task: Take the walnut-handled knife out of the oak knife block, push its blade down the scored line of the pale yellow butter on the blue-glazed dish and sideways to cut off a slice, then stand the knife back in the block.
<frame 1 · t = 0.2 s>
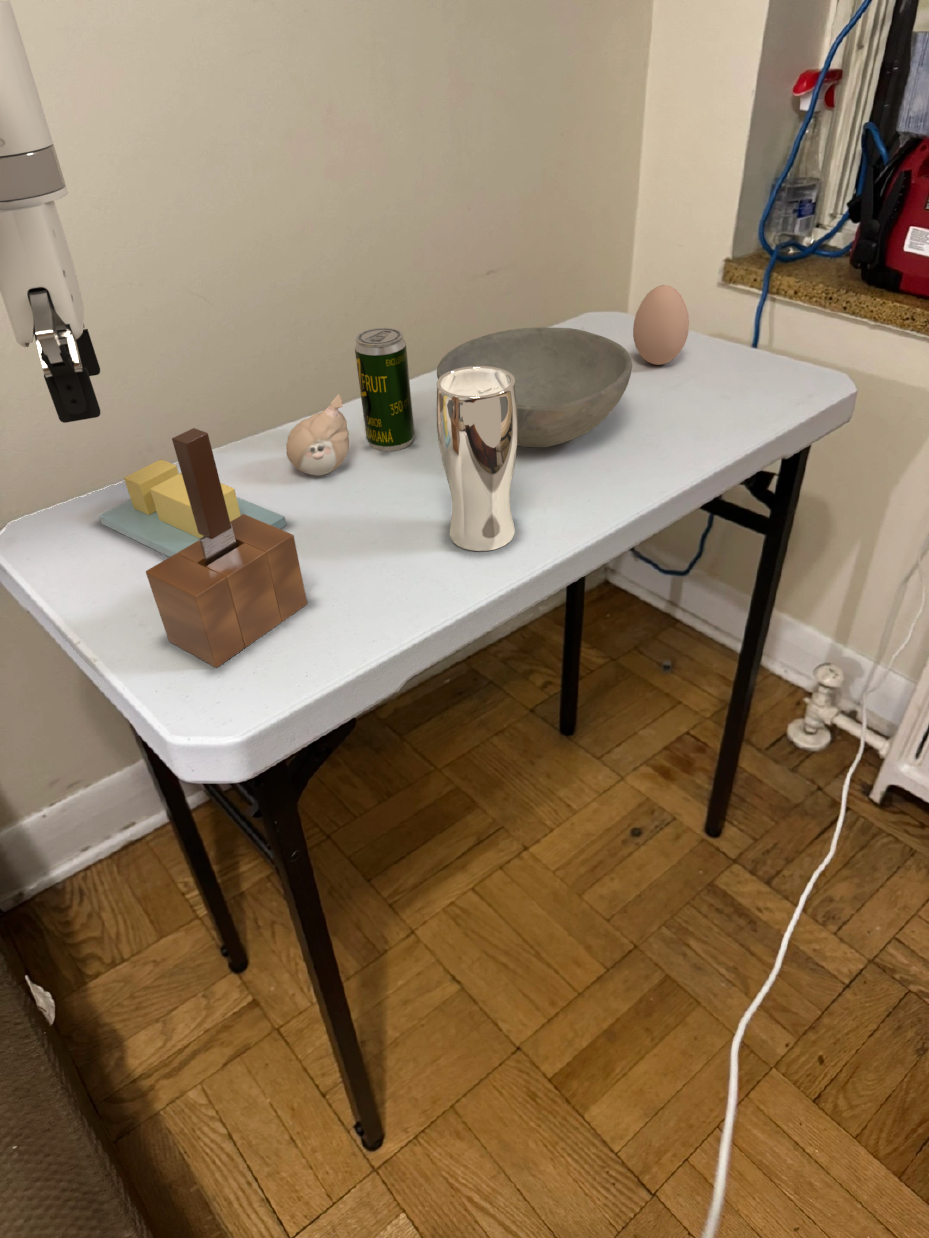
hand: (82, 396, 75), 15 cm above the table, tool pointing down, fingers open, 9 cm apart
butter: (200, 520, 84), point 1 cm above the table, touching butter dish
butter slice: (159, 502, 87), point 1 cm above the table, touching butter dish
garlic bulb: (322, 471, 93), on the table
knife block: (239, 622, 72), on the table
bowl: (534, 430, 98), on the table
knife: (216, 536, 67), in the knife block
butter dish: (193, 524, 85), on the table
beer glass: (482, 535, 81), on the table
egg: (657, 365, 111), on the table
green soda can: (391, 443, 97), on the table
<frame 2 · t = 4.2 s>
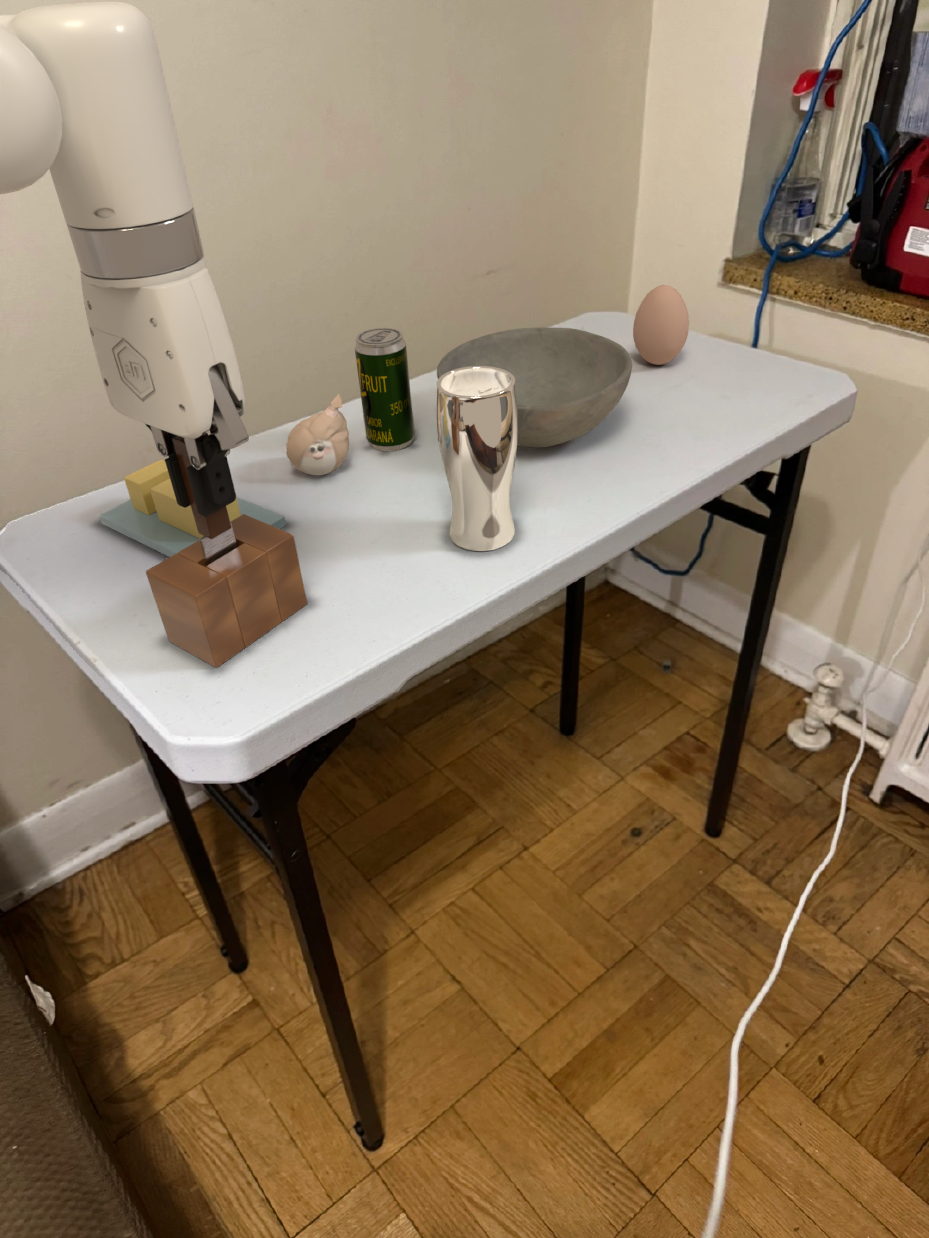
hand: (207, 502, 65), 12 cm above the table, tool pointing down, fingers closed on knife, 1 cm apart
knife: (216, 536, 67), in the knife block, touching gripper
everything else where it was.
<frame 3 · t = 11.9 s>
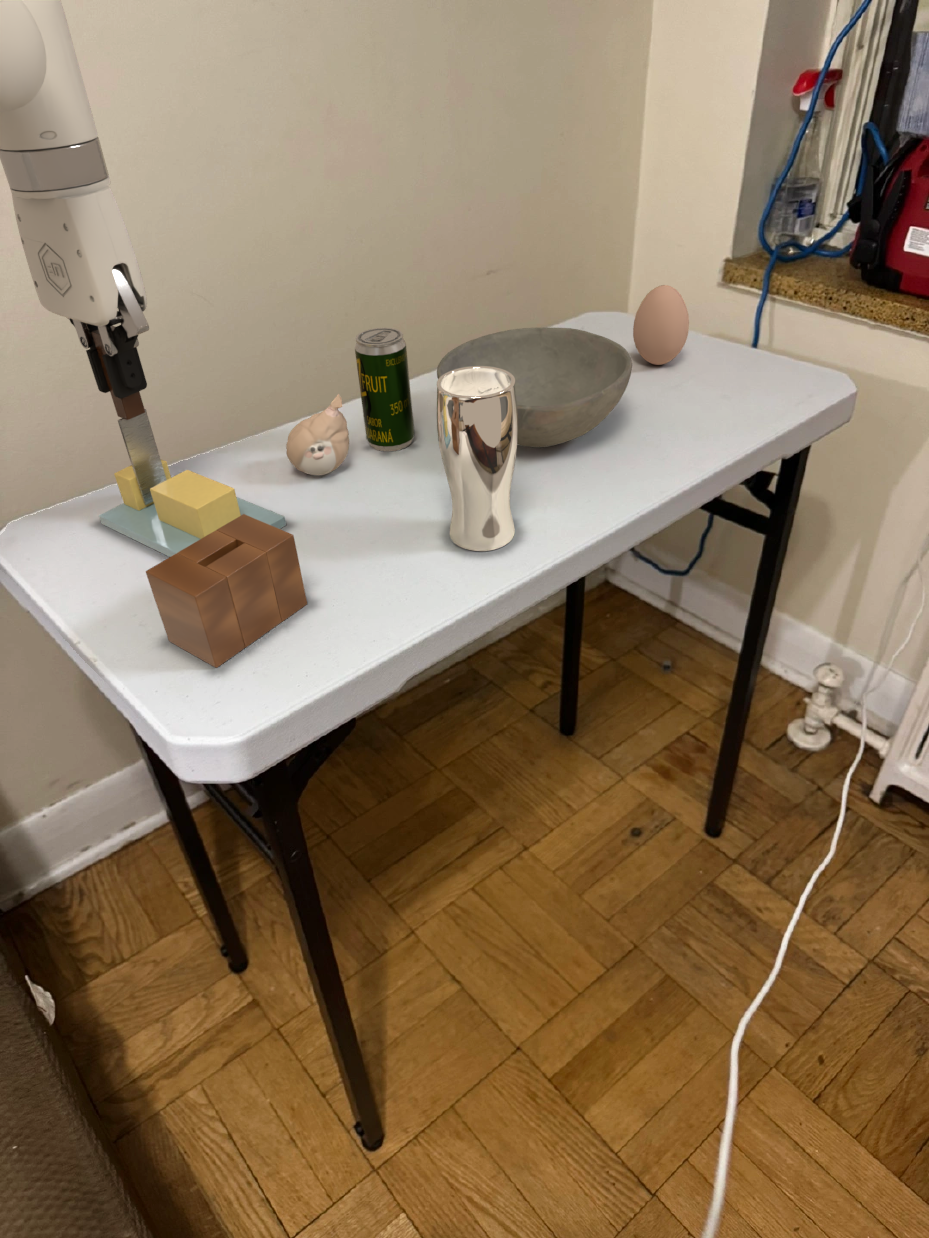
hand: (123, 389, 79), 13 cm above the table, tool pointing down, fingers closed on knife, 1 cm apart
butter slice: (150, 498, 88), point 1 cm above the table, touching butter dish
knife: (133, 419, 81), point 10 cm above the table, touching gripper
everything else where it was.
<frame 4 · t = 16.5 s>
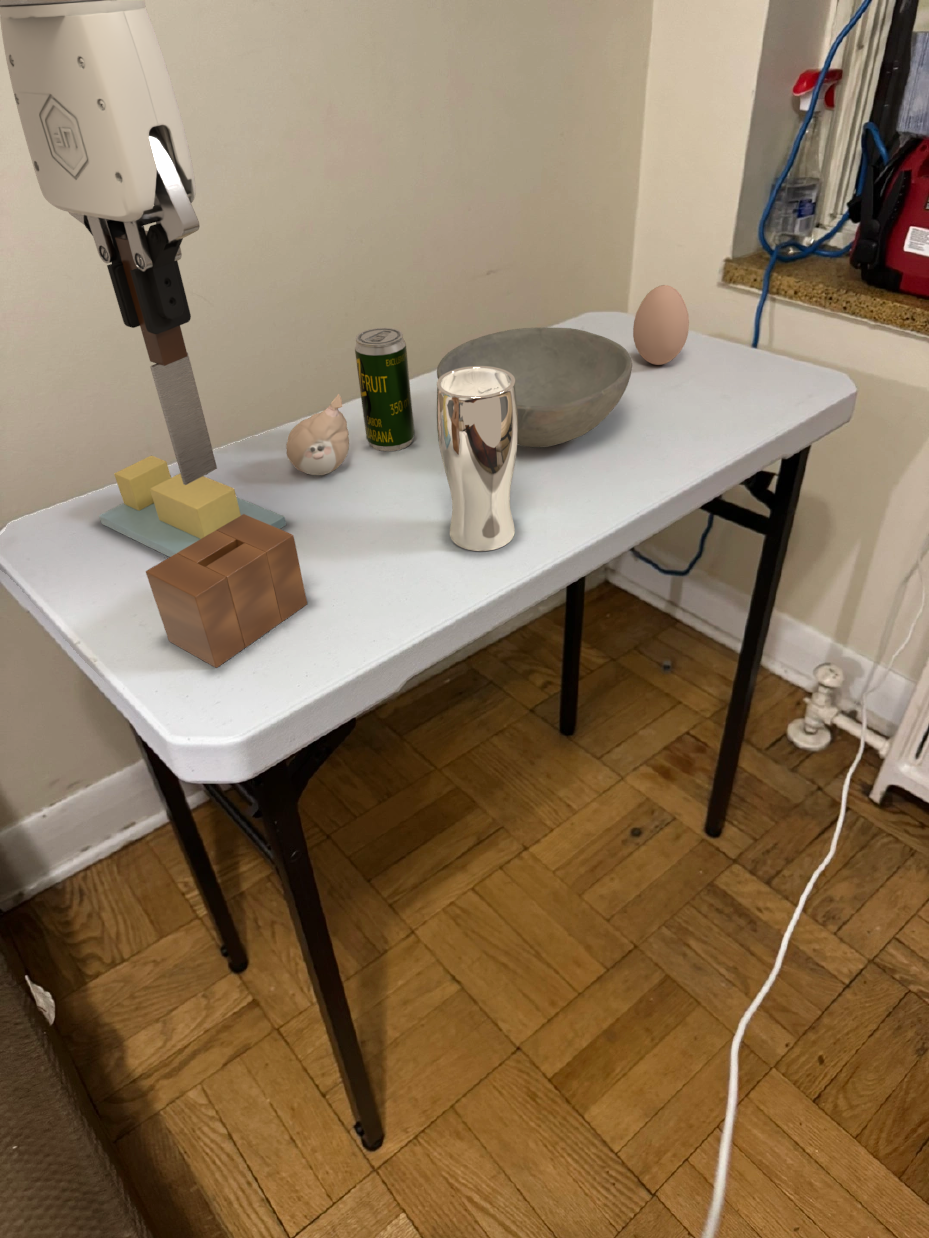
hand: (158, 322, 57), 25 cm above the table, tool pointing down, fingers closed on knife, 1 cm apart
knife: (171, 366, 59), point 22 cm above the table, touching gripper
everything else where it was.
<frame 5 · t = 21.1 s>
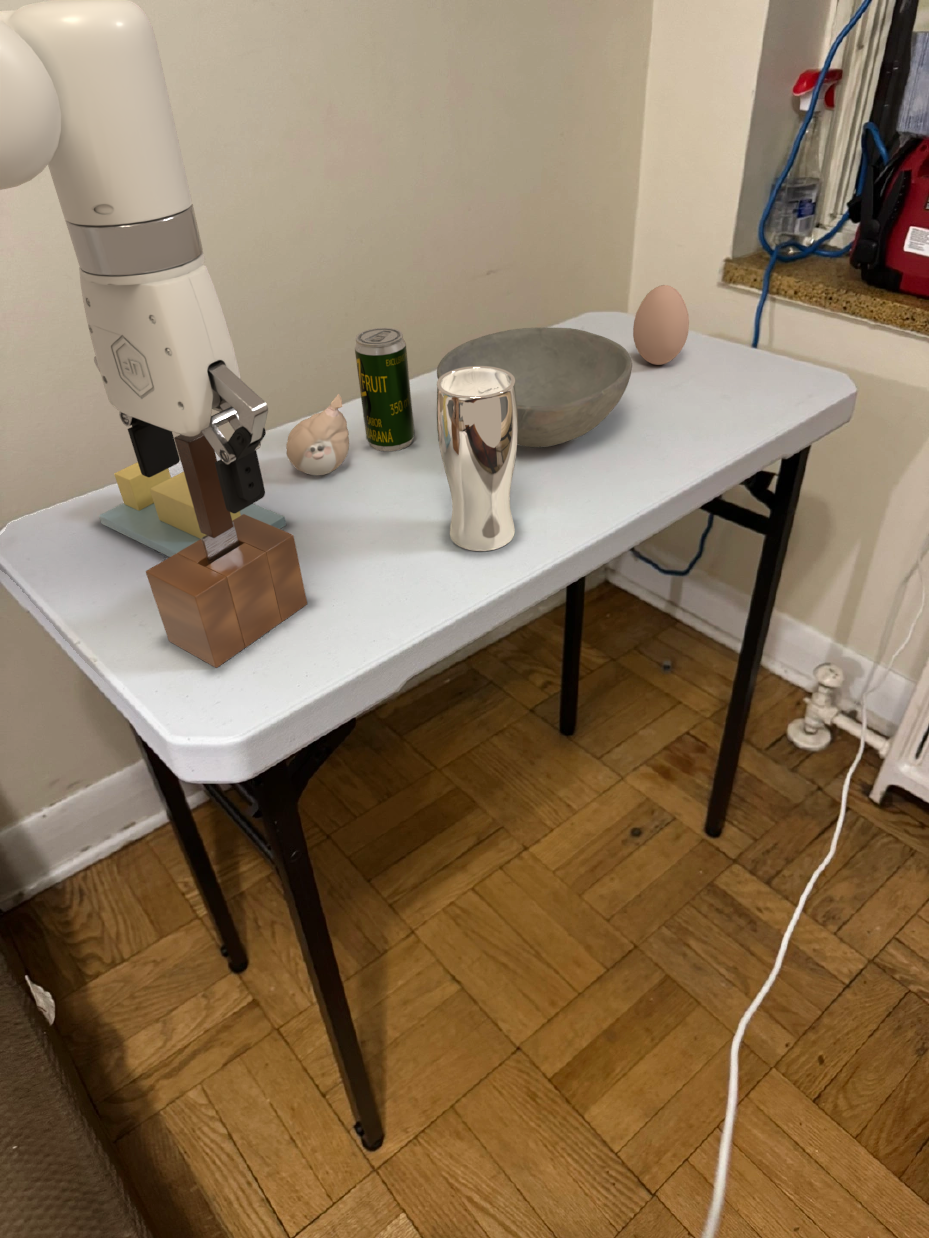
hand: (202, 486, 64), 13 cm above the table, tool pointing down, fingers open, 9 cm apart
knife: (218, 535, 67), in the knife block
everything else where it was.
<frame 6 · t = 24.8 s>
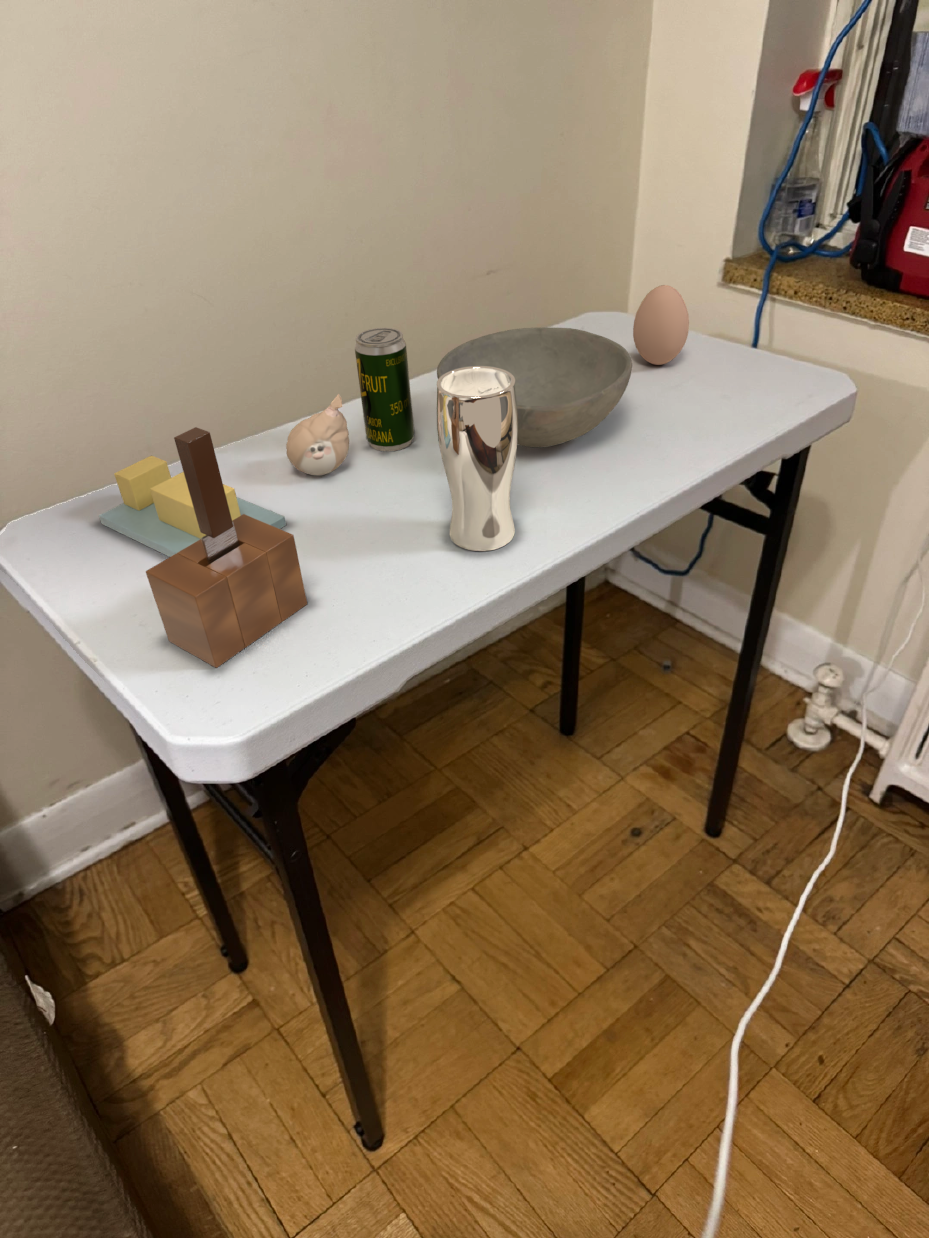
nothing on the table moved.
at the end: butter slice 0.5 cm from the target spot on the table beside the butter, resting on butter dish; butter slice tilted 0°; knife 0.2 cm off-centre on the knife block, point 8.5 cm above the knife block's base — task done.
